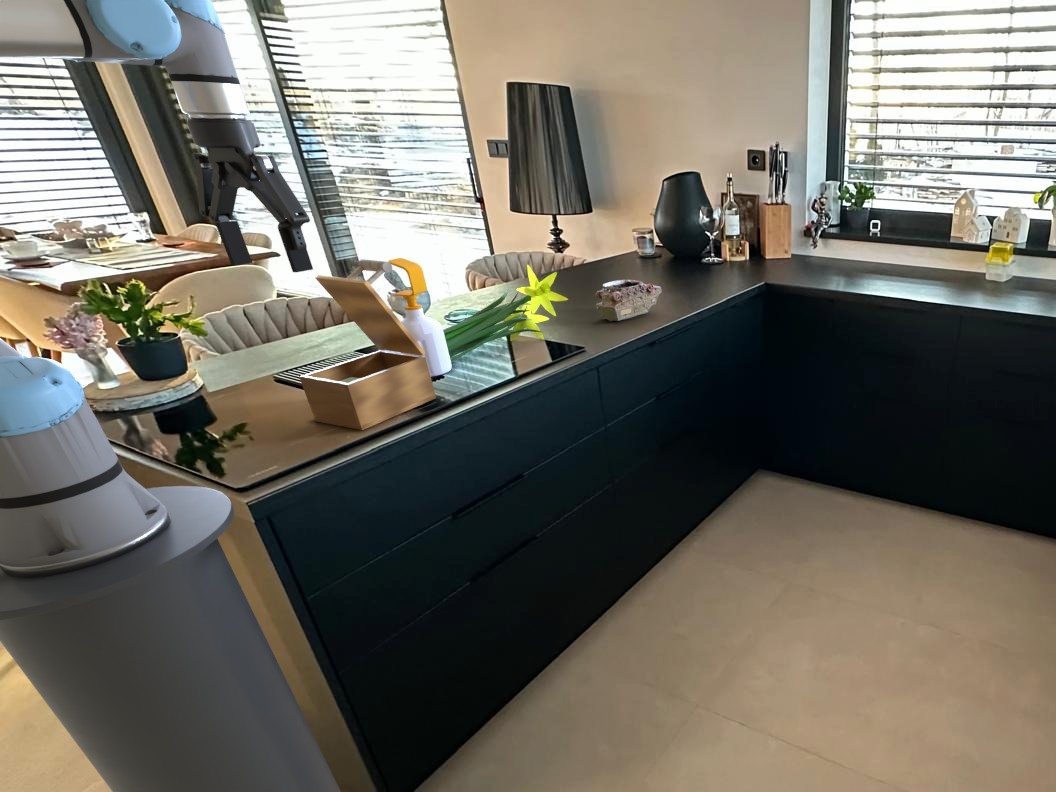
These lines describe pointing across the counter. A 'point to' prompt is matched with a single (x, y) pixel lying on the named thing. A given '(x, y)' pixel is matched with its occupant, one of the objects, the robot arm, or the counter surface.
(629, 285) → the decorative box
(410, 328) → the soap bottle
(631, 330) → the counter surface
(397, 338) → the lid
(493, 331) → the daffodil flowers
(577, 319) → the counter surface
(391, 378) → the chest
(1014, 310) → the counter surface
